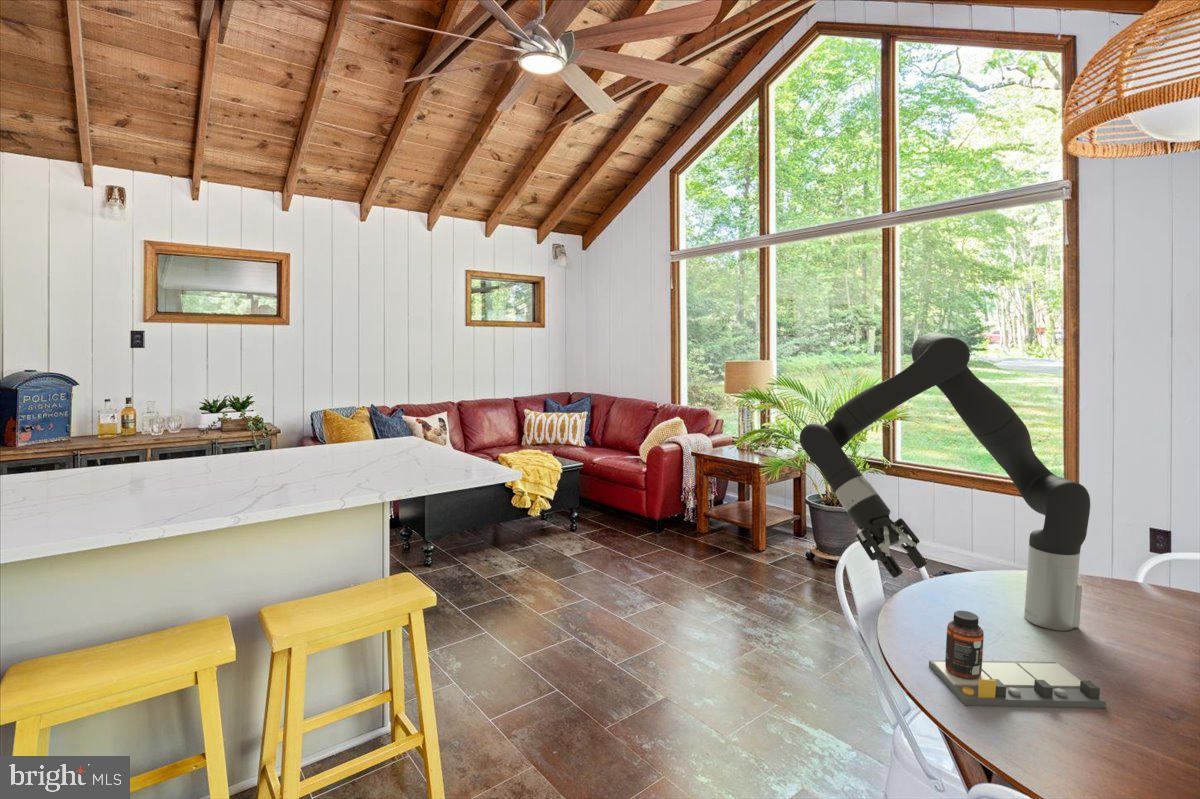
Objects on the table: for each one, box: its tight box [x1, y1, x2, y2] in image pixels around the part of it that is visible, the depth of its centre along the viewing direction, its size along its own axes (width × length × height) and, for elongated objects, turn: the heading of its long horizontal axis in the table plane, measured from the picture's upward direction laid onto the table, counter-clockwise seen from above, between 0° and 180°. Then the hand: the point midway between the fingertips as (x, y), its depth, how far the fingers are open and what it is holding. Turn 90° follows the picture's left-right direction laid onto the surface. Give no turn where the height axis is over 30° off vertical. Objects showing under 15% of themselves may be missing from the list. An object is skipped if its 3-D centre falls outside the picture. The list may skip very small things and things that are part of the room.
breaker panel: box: [928, 659, 1107, 709], centre depth 113 cm, size 24×13×4 cm, turn 87°
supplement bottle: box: [944, 610, 985, 679], centre depth 115 cm, size 6×6×11 cm
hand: (911, 571), depth 123 cm, fingers open, 8 cm apart
